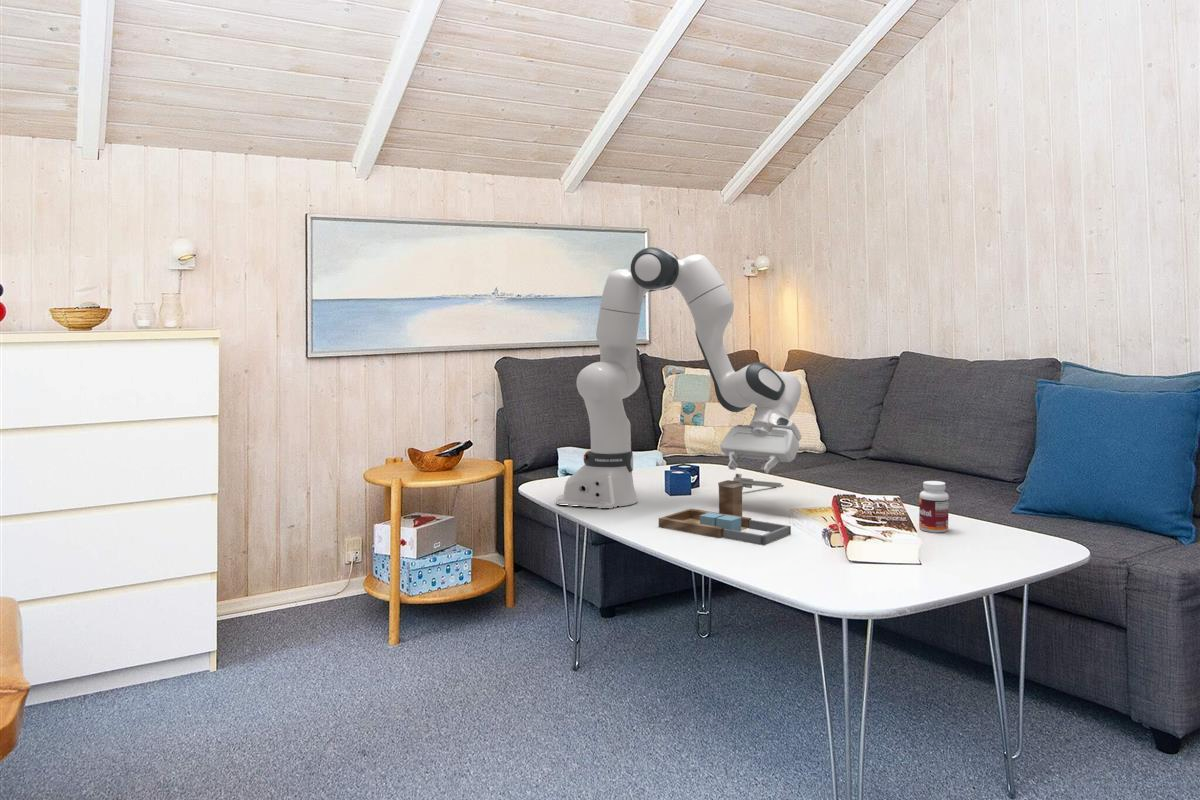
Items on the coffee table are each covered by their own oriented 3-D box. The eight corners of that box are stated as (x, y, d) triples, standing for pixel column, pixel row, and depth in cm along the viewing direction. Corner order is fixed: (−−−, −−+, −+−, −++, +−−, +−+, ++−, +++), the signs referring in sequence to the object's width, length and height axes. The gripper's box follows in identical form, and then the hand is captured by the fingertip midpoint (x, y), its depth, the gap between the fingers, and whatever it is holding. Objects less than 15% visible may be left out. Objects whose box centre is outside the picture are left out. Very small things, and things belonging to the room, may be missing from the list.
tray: (723, 542, 174) (723, 529, 174) (751, 532, 183) (751, 519, 182) (763, 550, 167) (763, 536, 167) (790, 539, 176) (790, 526, 176)
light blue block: (716, 531, 180) (716, 518, 179) (726, 527, 183) (726, 515, 182) (731, 533, 177) (731, 520, 177) (741, 530, 180) (741, 517, 180)
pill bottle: (913, 527, 184) (914, 480, 183) (937, 526, 185) (938, 479, 184) (929, 534, 178) (929, 485, 177) (954, 532, 179) (954, 484, 178)
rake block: (718, 523, 192) (718, 482, 191) (728, 520, 195) (728, 480, 194) (733, 525, 189) (732, 484, 189) (742, 522, 192) (742, 481, 192)
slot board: (658, 531, 185) (658, 518, 185) (691, 521, 195) (690, 508, 194) (720, 543, 174) (720, 529, 173) (751, 531, 183) (751, 518, 183)
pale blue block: (699, 528, 183) (699, 515, 182) (709, 524, 186) (709, 512, 185) (714, 530, 180) (714, 517, 180) (724, 527, 183) (724, 514, 183)
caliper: (735, 496, 225) (735, 474, 224) (732, 495, 226) (732, 474, 225) (784, 487, 237) (784, 466, 236) (781, 486, 237) (781, 466, 237)
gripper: (728, 417, 208) (707, 458, 202) (798, 421, 194) (778, 466, 188) (738, 432, 212) (717, 473, 206) (807, 437, 198) (787, 482, 192)
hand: (747, 470), depth 197 cm, fingers open, 8 cm apart
